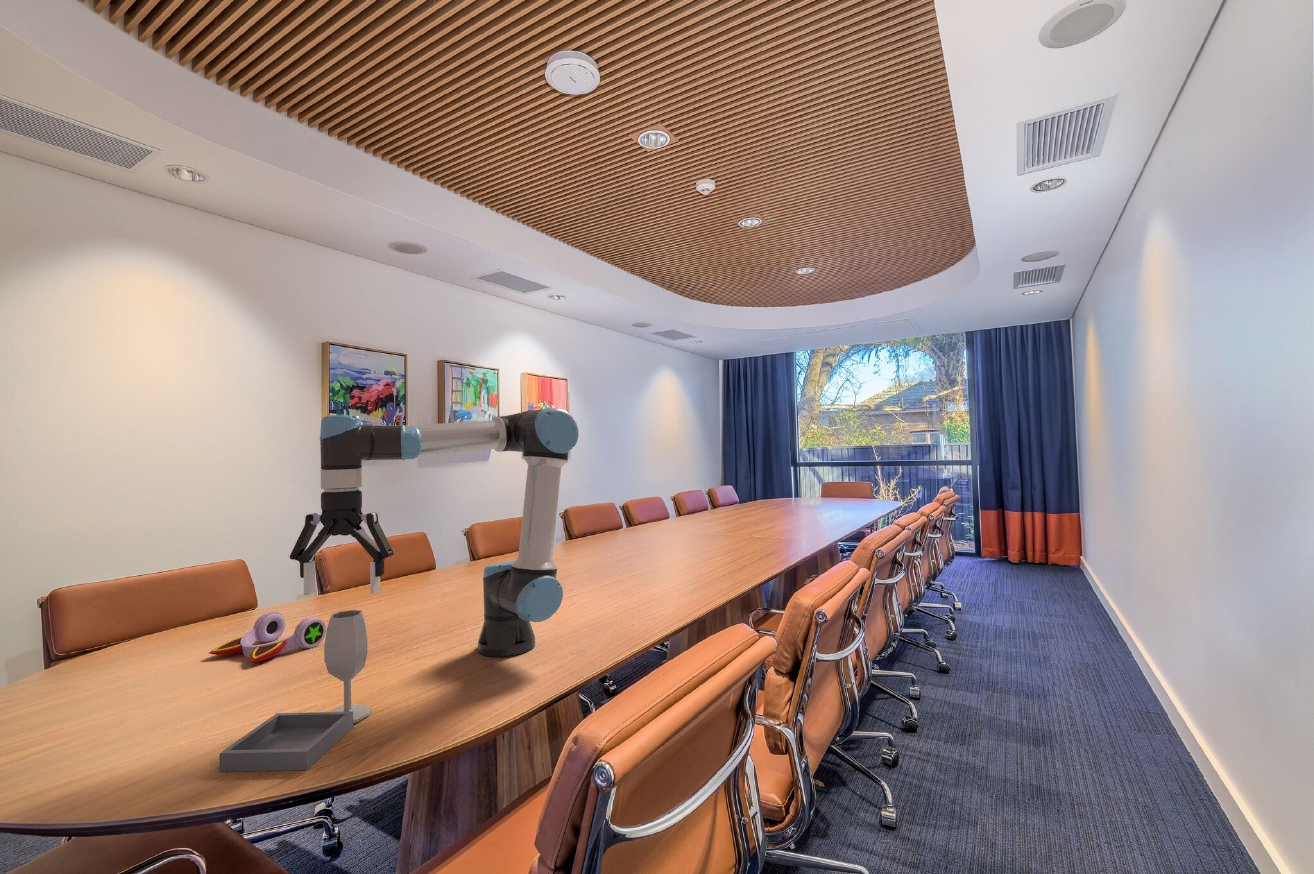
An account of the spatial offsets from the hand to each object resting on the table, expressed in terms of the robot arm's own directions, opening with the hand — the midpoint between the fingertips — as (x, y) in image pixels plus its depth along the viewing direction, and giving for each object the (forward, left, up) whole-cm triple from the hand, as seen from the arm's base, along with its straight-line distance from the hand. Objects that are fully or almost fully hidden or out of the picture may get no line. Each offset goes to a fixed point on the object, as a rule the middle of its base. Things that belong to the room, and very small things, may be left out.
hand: (342, 593), depth 121 cm
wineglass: (-1, +1, -25) cm, 25 cm away
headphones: (+42, -40, -26) cm, 64 cm away
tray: (+3, +13, -25) cm, 28 cm away
